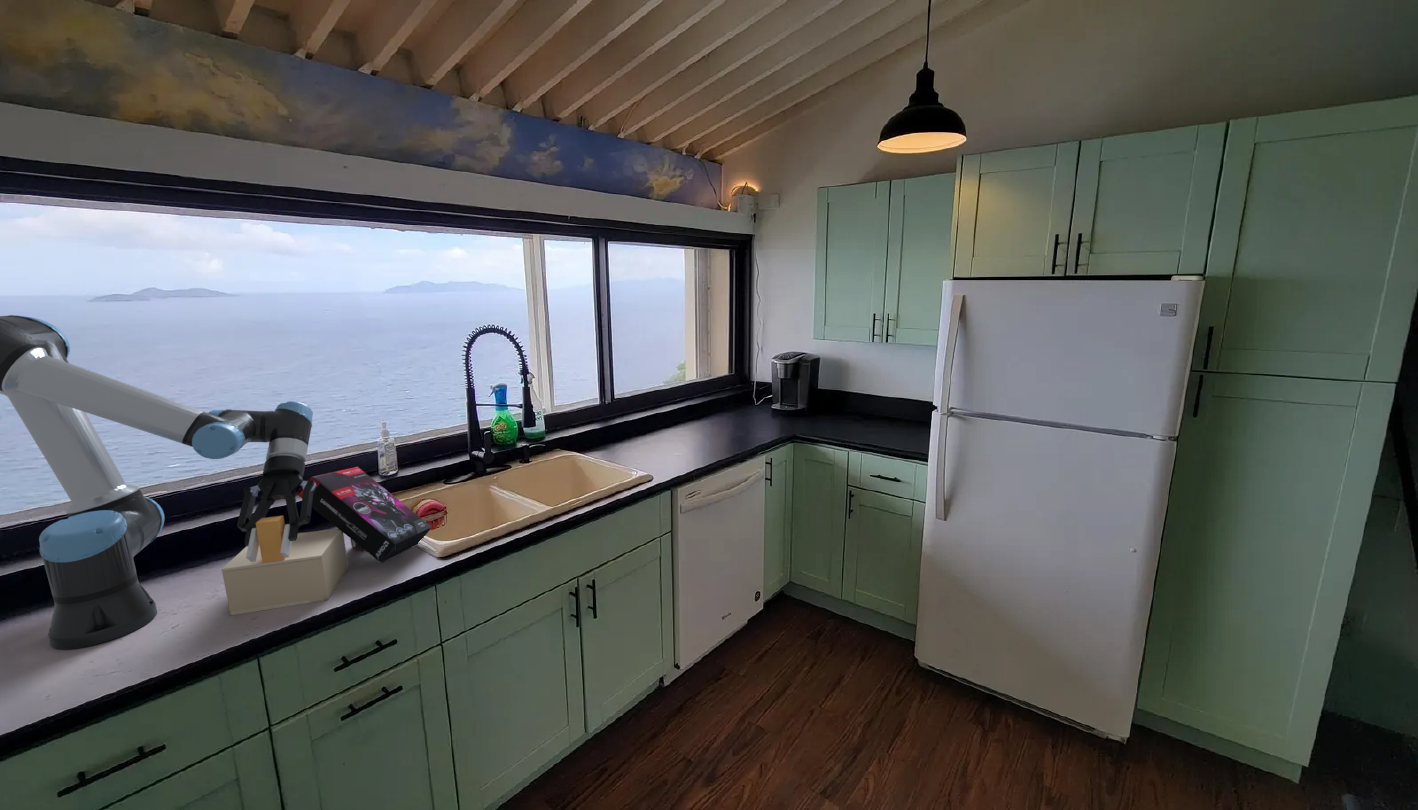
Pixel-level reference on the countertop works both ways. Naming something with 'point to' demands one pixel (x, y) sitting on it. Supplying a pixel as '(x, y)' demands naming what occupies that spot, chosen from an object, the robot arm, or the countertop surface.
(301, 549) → the carton flap
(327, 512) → the graphics card box
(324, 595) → the carton
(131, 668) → the countertop surface
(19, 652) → the countertop surface
